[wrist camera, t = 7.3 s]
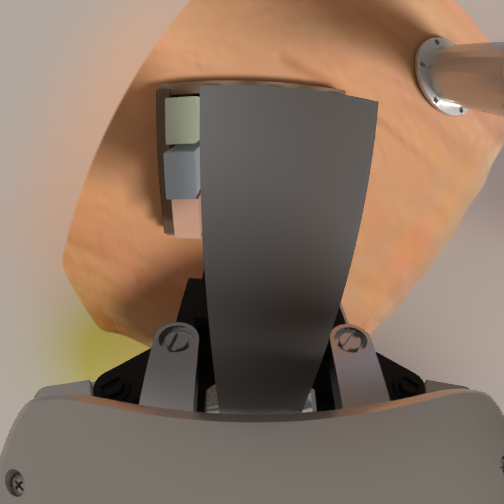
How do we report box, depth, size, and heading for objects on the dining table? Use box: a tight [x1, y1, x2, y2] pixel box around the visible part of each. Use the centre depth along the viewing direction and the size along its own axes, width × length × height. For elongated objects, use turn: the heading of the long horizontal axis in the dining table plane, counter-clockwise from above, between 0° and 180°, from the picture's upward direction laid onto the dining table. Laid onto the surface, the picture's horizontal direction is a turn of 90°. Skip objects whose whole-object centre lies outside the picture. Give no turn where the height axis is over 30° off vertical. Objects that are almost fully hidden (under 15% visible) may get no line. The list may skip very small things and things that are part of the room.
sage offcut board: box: [165, 96, 200, 145], centre depth 27 cm, size 3×5×8 cm, turn 178°
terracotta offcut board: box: [172, 189, 202, 239], centre depth 33 cm, size 3×5×7 cm, turn 178°
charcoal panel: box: [200, 85, 378, 414], centre depth 14 cm, size 2×14×16 cm, turn 178°
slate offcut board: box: [163, 140, 200, 199], centre depth 30 cm, size 3×5×9 cm, turn 178°
